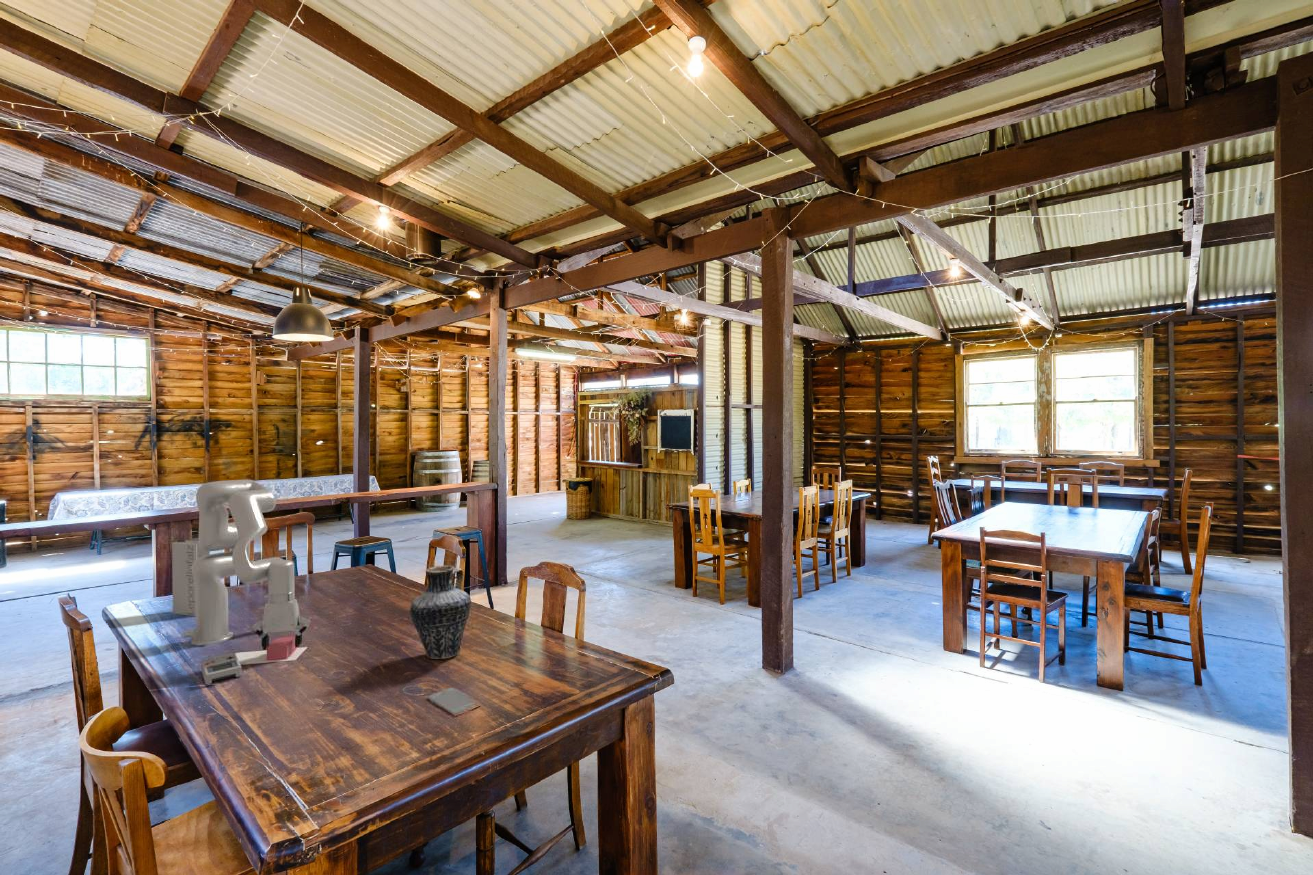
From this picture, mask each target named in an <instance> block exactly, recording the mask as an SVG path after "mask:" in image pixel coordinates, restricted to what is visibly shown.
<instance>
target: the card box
mask: <svg viewBox="0 0 1313 875" xmlns="http://www.w3.org/2000/svg"><path fill="white" fill-rule="evenodd" d="M297 648H298V647H295V636H285V637H276V639H274V640H273V641H272V642H271V643H269V646H268V647H267V649H266V650H267V661H270V660H281V659H288V658H289V656H290V655H291V654H292V653H293V652H294V651H295V650H296V649H297Z"/></svg>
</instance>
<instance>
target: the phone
mask: <svg viewBox="0 0 1313 875" xmlns="http://www.w3.org/2000/svg"><path fill="white" fill-rule="evenodd" d="M468 697H470V696H469V694H468V695H467V694H466V693H464V692H463V691H461V690H459V689H457V688H455V687H449V688H447V689H443V690H441V691H438V692H435V693H432V694H430V695H428V696H427V700H428V699H430V700H431V701H433V702H435V703H436V704H438V705H439V706H441V707H443V708H445V709H446V710H449V711H450V712H452V713H454V714H458V713H460V712H463V711H464V710H468V708H472V707H471V706H475V705H474V704H475V703H472V702H469V701H474V700H472V699H474V698H473V697H471V698H468ZM470 699H471V700H470ZM431 701H430V702H431ZM433 702H432V703H433ZM436 704H435V705H436ZM472 704H473V705H472ZM439 706H438V707H439ZM468 706H469V707H468Z"/></svg>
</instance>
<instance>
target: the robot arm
mask: <svg viewBox="0 0 1313 875" xmlns="http://www.w3.org/2000/svg"><path fill="white" fill-rule="evenodd" d="M195 501H196V506H197V508H198V509H197V510H198V515H199V520H198V541H199V547H200V549H201V550H203V551H210V552H216V553H210V555H205V556H202V557H200V558H198V559H196V560H195V561H194V562H193V564H192V574H193V578H194V583H195V594H196V616H195V629H192V630H191V629H188V630H184V631H183V637H184V638H192V639H190V644H191V646H195V645H196V647H197V646H198V647H200V646H202V647H203V646H209V645H214V644H219V643H222V642H227V641H229V640H231V639H233V637H234V632H233V631H229V590H228V588H227V586H226V585H225V584H224V583H223V582H222V580H223V579H226V578H230V577H235V576H237V579H238V581H240V583H242V584H243V585H248V586H250V585H254V584H259V583H262V582H263V583H264V582H267V584H268V586H267V587H268V590H267V594H264V595H263V600H267V602H266V603H265V605H264V609H263V616H262V619H261V620H260V621H258V622H256V623H255V624H253V625H252V626H251V627H252V629H253V631H254V632H255V634H256V635H258V637H259V638H260V639H261V647H262V651H265V650H267V647H268V646H269V645H270V636H269V634H278V633H289V632H290V633H291V632H294V633H295V634H296V635H295V636H294V637H295V647H297V648H299V646H301V644H302V643H303V633H304V632H305V631H306V630H307V629H308V627H309V626H310V624H311V620H310V619H308V618H305V617H302V616H300V615H301V614H300V609H299V603H298V599H297V598H295V597H296V596H295V562H294V561H293V560H291V559H290V560H289V559H283V558H281V557H278V556H277V557H275V556H274V557H269V558H263V559H258V560H252V561H250V556H251V555H250V554H251V542H252V541H255V540H257V539H259V538H260V537H262V536H263V535H265V534H266V532H267V531H268V525H267V523H266V520H265V517H264V515H263V513H269V512H272V511H273V510H274V509H275V507H276V504H277V499H276V497H275V495H274V494H273V492H272V491H271V490H270V489H269V488H267V487H266V486H264V485H262V484H260V483H259V482H258V481H255V480H254V479H253V480H252V479H248V478H247V479H246V478H245V479H234V480H232V479H231V480H217V481H209V482H205V483H203V484H202V485H200V486H199V487H198V489H197V491H196V495H195ZM225 505H228V509H229V511H228V509H227V508H226V507H225ZM229 512H230V514H231V517H232V521H233V522H229ZM227 549H228V551H223V550H227ZM217 551H223V552H218V553H217ZM301 623H302V624H303V627H302V628H301V627H300V625H301ZM261 626H262V629H261V628H260V627H261Z"/></svg>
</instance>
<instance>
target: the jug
mask: <svg viewBox="0 0 1313 875" xmlns="http://www.w3.org/2000/svg"><path fill="white" fill-rule="evenodd" d="M425 574H426V578H427V582H428V584H427V589H426V590H425V591H424V592H423V593H422V594H420V595H418V596H417V597H415V599H413V601H412V603H411V604H410V608H409V610H410V611H409V613H410V617H411V621H412V623H413V625H414V628H415V630H416V632H417V634H418V637H419V639H420V642H421V644H422V647H423V649H424V651H425V654H426V657H428V658H429V659H433V660H441V659H443V660H444V659H449V658H452V657H455V656H457V655H459V653H460V652H461V644H462V640H463V636H464V632H465V628H466V624H467V621H468V619H469V617H470V611H471V606H472V599H471V596H470V595H469V594H468V593H467V592H466V591H464V590H462V586H463V579H464V570H462V568H459V567H454V566H452V565H445V564H444V565H437V566H433V567H427V568H426V570H425ZM455 574H456V575H455ZM454 575H455V576H456V578H455V583H454V584H455V586H454V584H453V576H454Z"/></svg>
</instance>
